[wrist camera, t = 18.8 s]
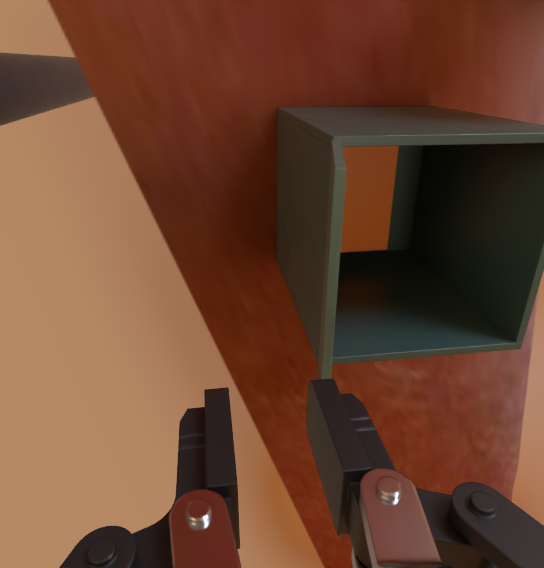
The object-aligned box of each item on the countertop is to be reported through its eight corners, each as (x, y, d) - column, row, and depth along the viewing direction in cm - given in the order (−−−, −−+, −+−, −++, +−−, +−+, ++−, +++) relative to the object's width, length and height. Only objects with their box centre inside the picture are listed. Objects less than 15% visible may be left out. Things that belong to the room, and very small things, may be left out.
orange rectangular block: (324, 238, 41) (335, 252, 38) (329, 133, 37) (342, 140, 34) (373, 235, 41) (387, 249, 38) (383, 132, 37) (399, 138, 34)
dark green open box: (276, 259, 41) (319, 366, 27) (277, 107, 36) (332, 136, 21) (411, 252, 43) (521, 349, 28) (432, 105, 38) (583, 132, 23)
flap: (324, 372, 26) (317, 372, 26) (340, 139, 21) (331, 139, 21) (324, 458, 20) (315, 457, 20) (346, 167, 15) (334, 167, 15)
